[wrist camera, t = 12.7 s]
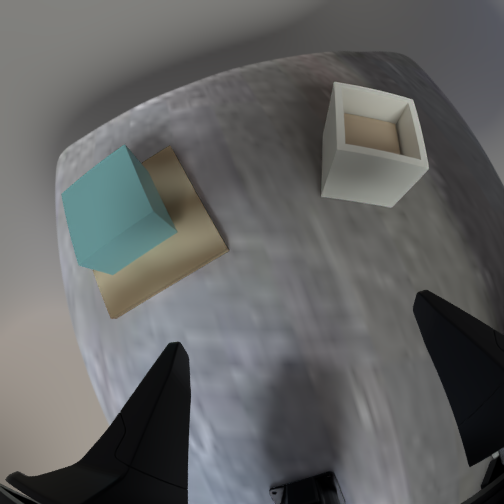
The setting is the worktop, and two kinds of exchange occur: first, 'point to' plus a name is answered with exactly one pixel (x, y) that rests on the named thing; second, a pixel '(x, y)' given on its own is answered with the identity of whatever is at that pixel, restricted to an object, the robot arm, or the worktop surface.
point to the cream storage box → (371, 146)
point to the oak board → (165, 242)
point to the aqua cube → (115, 213)
